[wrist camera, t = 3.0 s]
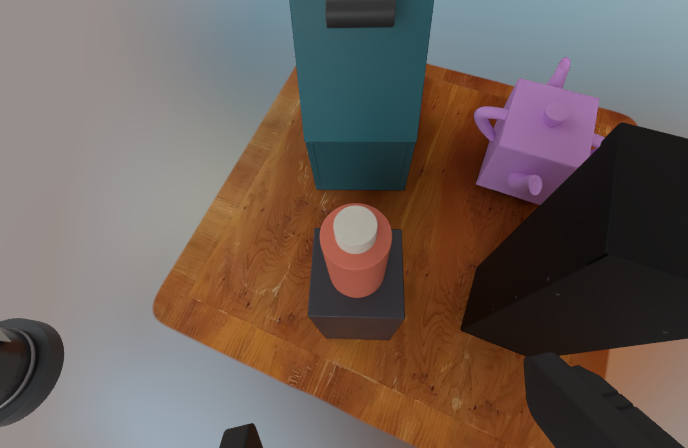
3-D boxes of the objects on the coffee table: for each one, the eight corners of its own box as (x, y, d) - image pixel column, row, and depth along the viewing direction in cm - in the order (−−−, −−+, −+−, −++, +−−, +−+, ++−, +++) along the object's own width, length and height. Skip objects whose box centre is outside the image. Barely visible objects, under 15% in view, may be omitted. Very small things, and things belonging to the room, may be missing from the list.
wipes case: (322, 110, 51) (314, 53, 42) (401, 110, 51) (409, 51, 42) (316, 189, 46) (305, 143, 37) (404, 190, 45) (415, 143, 36)
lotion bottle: (327, 297, 25) (314, 261, 18) (330, 244, 27) (319, 190, 20) (384, 298, 25) (395, 262, 18) (384, 245, 27) (393, 191, 19)
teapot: (595, 203, 43) (665, 149, 33) (497, 234, 42) (539, 188, 32) (531, 113, 49) (573, 46, 39) (444, 139, 48) (465, 76, 38)
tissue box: (533, 360, 36) (955, 308, 10) (458, 331, 37) (666, 222, 12) (545, 291, 39) (898, 117, 13) (475, 266, 40) (672, 68, 15)
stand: (325, 338, 38) (307, 316, 25) (328, 276, 41) (314, 227, 28) (389, 340, 37) (404, 318, 25) (388, 277, 40) (401, 229, 27)
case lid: (287, -30, 27) (275, -23, 23) (436, -34, 27) (448, -28, 23) (305, 138, 37) (298, 162, 33) (415, 138, 36) (421, 163, 32)
